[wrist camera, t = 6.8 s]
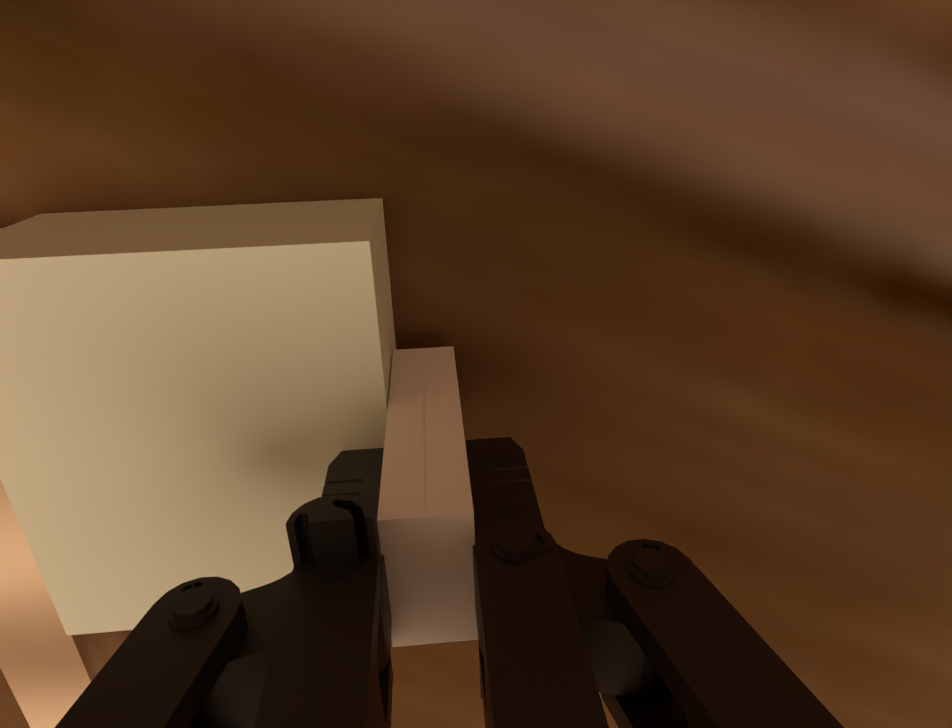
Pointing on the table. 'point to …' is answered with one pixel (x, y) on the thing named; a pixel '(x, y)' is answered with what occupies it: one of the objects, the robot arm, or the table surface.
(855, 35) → the table surface
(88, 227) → the block
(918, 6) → the table surface
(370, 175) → the table surface
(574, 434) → the table surface
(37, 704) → the board
